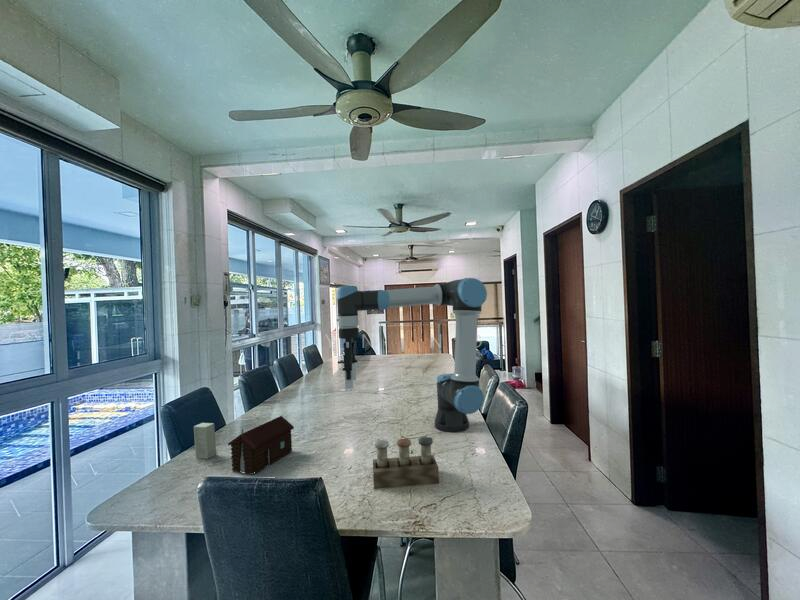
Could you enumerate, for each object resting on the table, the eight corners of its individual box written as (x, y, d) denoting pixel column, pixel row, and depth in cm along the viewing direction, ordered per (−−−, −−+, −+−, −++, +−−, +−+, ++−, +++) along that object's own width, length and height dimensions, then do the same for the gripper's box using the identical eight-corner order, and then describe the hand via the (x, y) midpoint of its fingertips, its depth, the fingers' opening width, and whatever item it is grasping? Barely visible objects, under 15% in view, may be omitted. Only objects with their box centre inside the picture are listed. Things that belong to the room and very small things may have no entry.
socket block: (433, 469, 120) (433, 454, 120) (439, 483, 112) (438, 467, 112) (373, 474, 119) (372, 459, 119) (373, 488, 110) (373, 472, 110)
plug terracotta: (410, 462, 118) (409, 438, 118) (412, 469, 113) (411, 443, 113) (397, 463, 117) (396, 439, 117) (398, 470, 113) (397, 444, 113)
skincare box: (216, 454, 140) (215, 423, 140) (207, 459, 136) (206, 427, 136) (203, 453, 142) (202, 422, 142) (194, 458, 138) (193, 426, 138)
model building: (255, 476, 121) (253, 431, 121) (229, 471, 126) (227, 428, 126) (294, 451, 140) (293, 412, 140) (270, 448, 145) (269, 410, 145)
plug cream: (389, 464, 117) (388, 439, 117) (390, 470, 113) (389, 445, 113) (375, 465, 117) (374, 440, 117) (375, 471, 112) (374, 446, 112)
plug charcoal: (432, 461, 118) (431, 436, 118) (434, 467, 114) (433, 441, 114) (418, 462, 118) (417, 437, 118) (420, 468, 113) (419, 442, 113)
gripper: (342, 325, 148) (344, 377, 148) (334, 330, 123) (336, 393, 123) (360, 324, 148) (362, 376, 148) (356, 329, 123) (358, 391, 123)
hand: (351, 384), depth 136 cm, fingers open, 13 cm apart
